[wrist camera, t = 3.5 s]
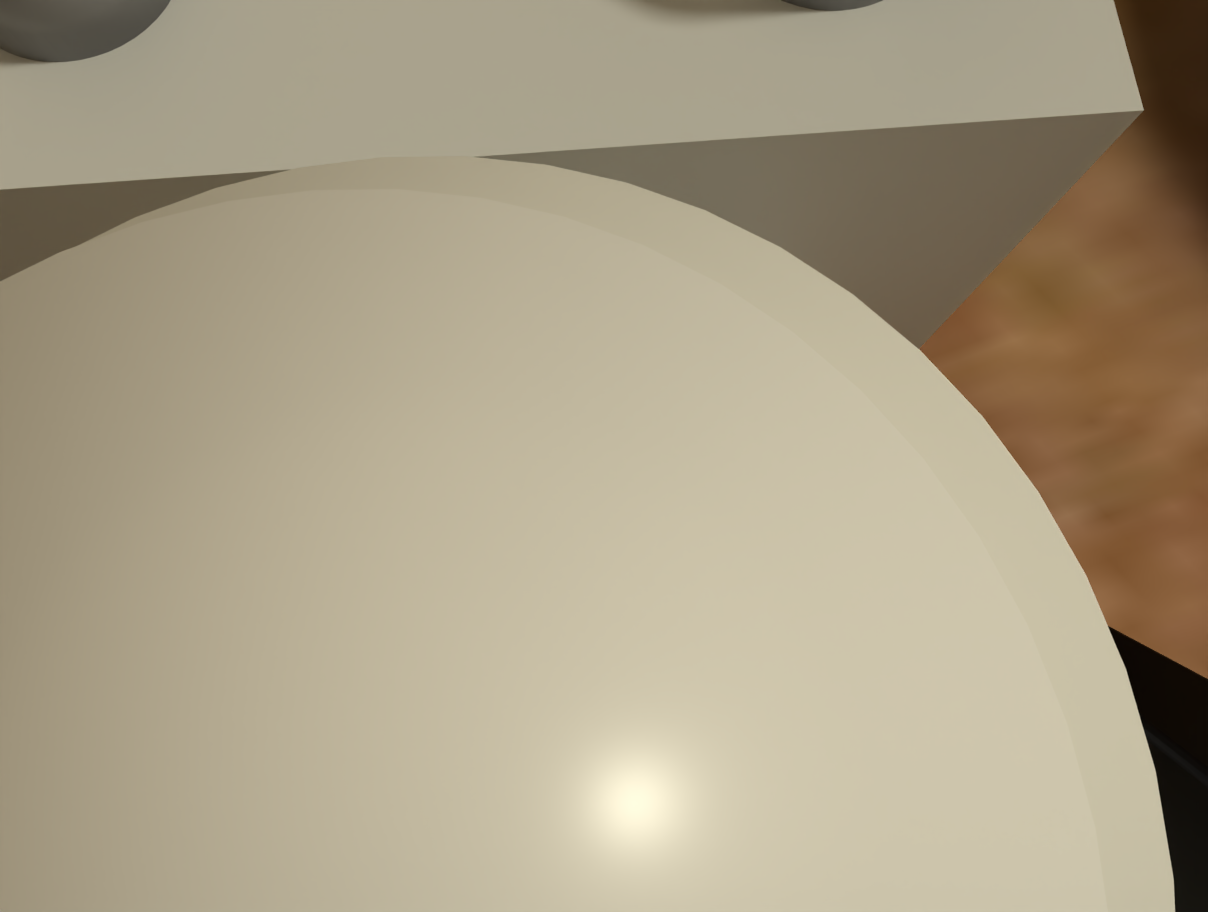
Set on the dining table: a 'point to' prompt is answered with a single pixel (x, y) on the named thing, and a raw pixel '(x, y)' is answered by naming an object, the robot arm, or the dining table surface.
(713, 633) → the cartridge
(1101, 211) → the dining table surface
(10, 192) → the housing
